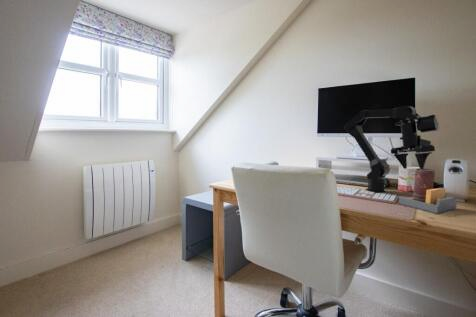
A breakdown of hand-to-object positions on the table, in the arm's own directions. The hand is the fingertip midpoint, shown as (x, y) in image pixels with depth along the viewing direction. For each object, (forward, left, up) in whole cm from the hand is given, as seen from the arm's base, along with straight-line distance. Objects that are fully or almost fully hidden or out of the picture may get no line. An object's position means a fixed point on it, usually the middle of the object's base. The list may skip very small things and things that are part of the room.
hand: (413, 168), depth 114 cm
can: (+10, -9, -12) cm, 18 cm away
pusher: (+15, -10, -13) cm, 22 cm away
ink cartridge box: (-9, +12, -13) cm, 20 cm away
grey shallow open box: (+12, -10, -13) cm, 21 cm away
